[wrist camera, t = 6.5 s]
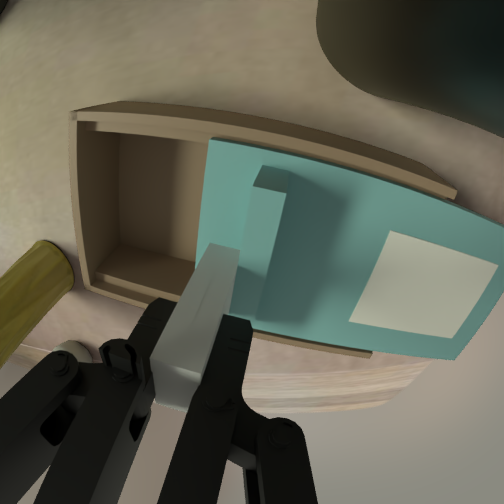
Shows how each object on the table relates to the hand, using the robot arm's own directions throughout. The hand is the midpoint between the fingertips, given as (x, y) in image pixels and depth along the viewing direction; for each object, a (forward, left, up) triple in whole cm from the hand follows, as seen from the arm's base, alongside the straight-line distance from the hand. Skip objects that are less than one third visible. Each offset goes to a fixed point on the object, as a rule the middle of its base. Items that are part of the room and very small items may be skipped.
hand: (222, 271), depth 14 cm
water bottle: (-14, +6, -7) cm, 16 cm away
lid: (0, +8, -3) cm, 8 cm away
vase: (+10, -19, -7) cm, 22 cm away
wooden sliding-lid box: (0, 0, -7) cm, 7 cm away
